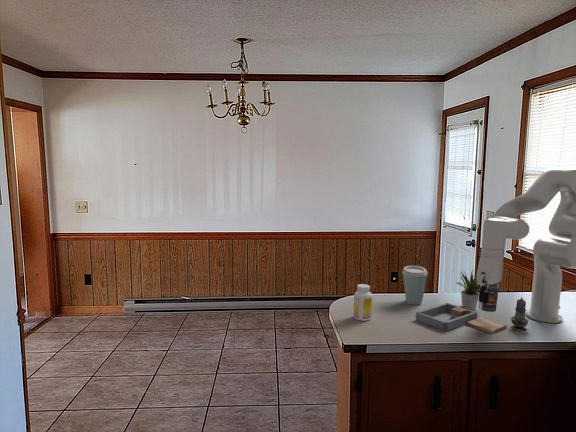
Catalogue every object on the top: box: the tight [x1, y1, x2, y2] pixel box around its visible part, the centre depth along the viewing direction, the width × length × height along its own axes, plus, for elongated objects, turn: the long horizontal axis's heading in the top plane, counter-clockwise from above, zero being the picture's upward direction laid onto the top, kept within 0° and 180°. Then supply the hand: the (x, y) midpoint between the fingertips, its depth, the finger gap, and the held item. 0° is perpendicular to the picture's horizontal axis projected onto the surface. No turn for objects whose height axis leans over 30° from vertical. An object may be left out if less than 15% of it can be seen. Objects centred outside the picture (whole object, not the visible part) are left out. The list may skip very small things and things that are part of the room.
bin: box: [415, 302, 478, 332], centre depth 163 cm, size 20×13×3 cm, turn 126°
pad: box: [465, 316, 508, 335], centre depth 158 cm, size 10×10×1 cm
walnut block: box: [450, 306, 467, 320], centre depth 165 cm, size 4×4×4 cm
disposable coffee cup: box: [401, 265, 429, 306], centre depth 182 cm, size 11×11×15 cm
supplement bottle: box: [353, 283, 373, 322], centre depth 162 cm, size 7×7×13 cm
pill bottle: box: [477, 282, 499, 313], centre depth 156 cm, size 6×6×11 cm
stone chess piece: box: [510, 296, 530, 332], centre depth 156 cm, size 6×6×12 cm
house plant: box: [451, 268, 479, 310], centre depth 177 cm, size 14×14×16 cm
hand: (488, 300), depth 157 cm, fingers closed on pill bottle, 6 cm apart
